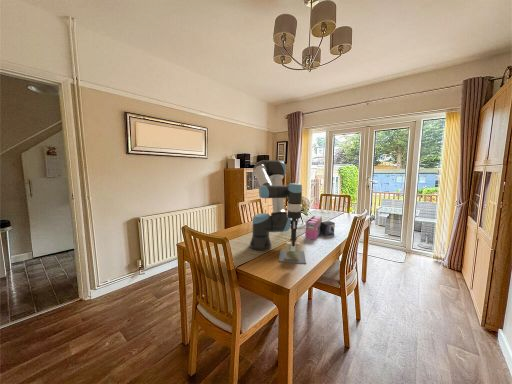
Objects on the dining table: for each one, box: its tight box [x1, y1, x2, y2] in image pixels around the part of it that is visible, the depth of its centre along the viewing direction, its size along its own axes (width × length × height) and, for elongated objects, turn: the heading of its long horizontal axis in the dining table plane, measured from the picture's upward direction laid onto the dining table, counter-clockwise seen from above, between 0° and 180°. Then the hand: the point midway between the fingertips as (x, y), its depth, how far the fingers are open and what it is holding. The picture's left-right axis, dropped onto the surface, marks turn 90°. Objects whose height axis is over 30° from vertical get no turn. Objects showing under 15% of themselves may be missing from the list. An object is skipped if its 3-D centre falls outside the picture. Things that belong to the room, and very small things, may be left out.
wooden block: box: [285, 241, 301, 260], centre depth 132 cm, size 8×3×10 cm, turn 83°
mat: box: [278, 249, 307, 265], centre depth 136 cm, size 16×18×1 cm
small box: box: [319, 220, 336, 237], centre depth 181 cm, size 11×6×10 cm, turn 116°
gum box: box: [304, 215, 323, 240], centre depth 179 cm, size 24×8×14 cm, turn 150°
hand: (293, 250), depth 124 cm, fingers closed
